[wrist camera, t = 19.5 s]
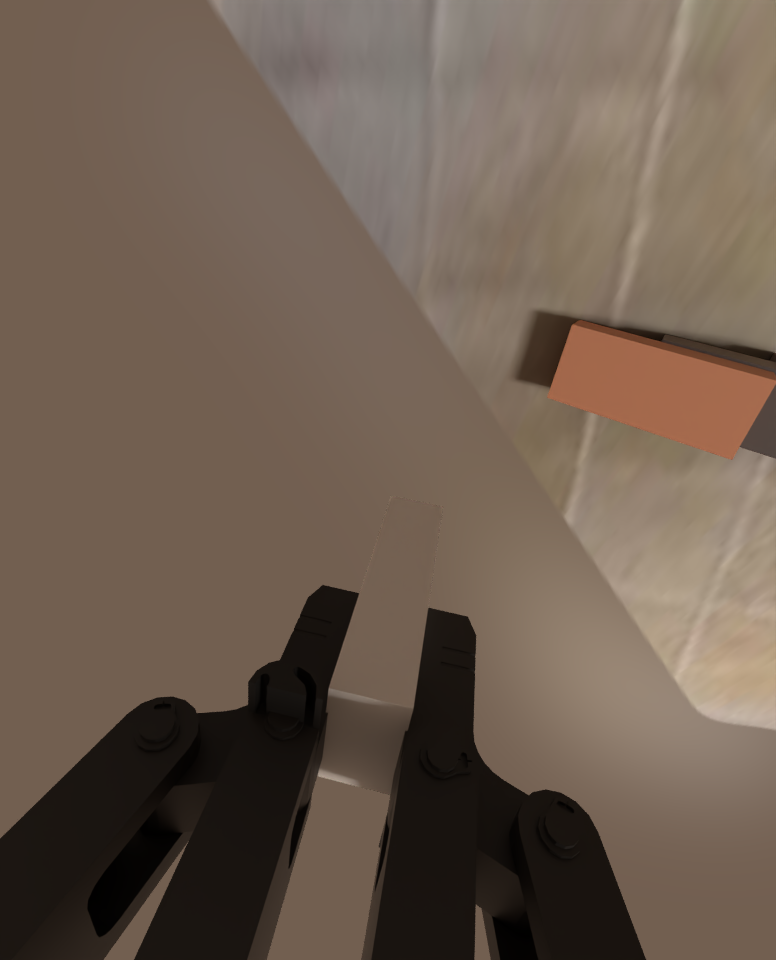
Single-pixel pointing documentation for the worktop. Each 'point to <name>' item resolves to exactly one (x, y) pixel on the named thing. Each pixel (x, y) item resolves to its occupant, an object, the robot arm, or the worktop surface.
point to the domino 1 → (661, 387)
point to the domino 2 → (772, 426)
